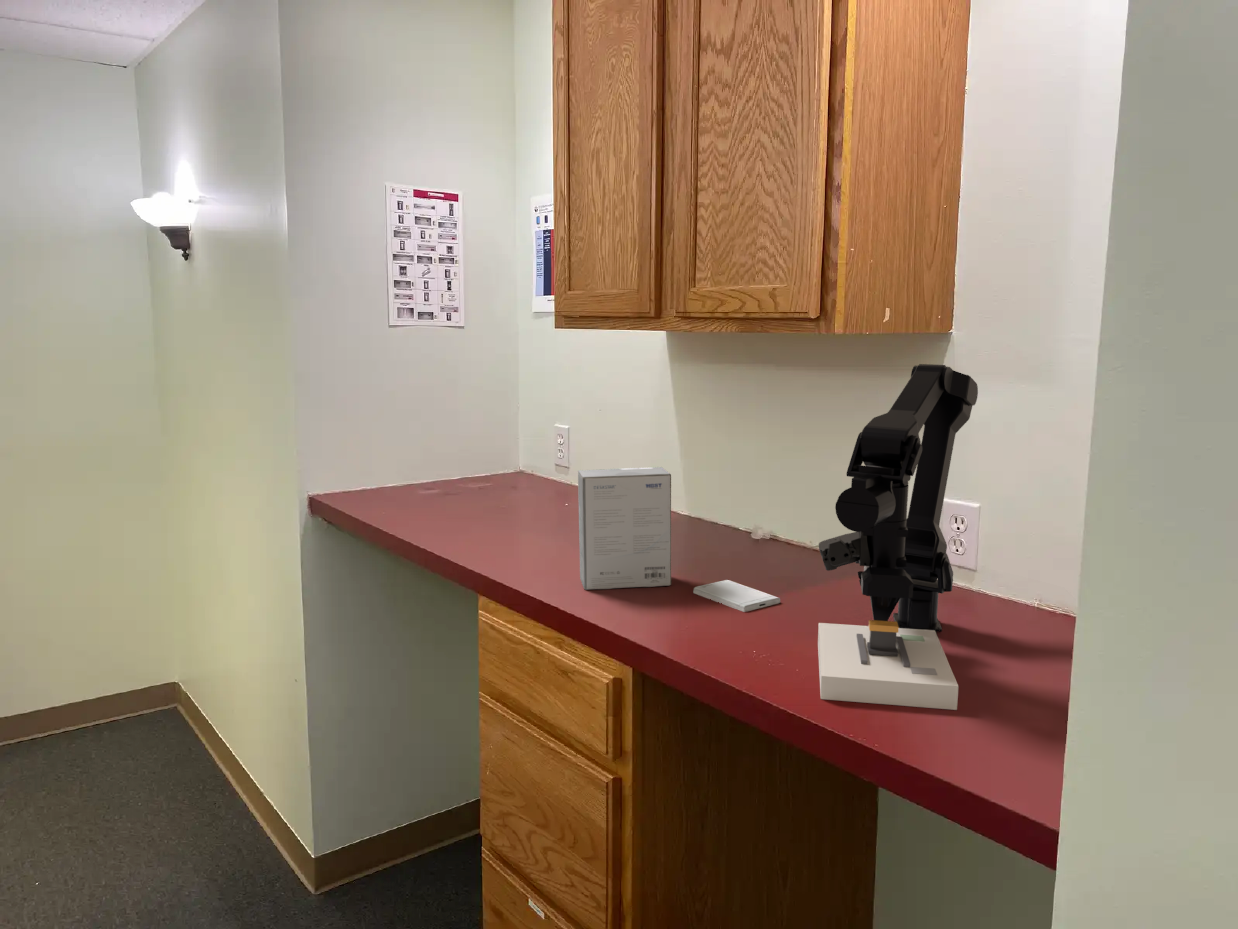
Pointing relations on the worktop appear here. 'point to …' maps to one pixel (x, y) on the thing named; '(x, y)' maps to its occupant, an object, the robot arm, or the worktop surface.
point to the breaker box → (885, 668)
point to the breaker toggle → (882, 638)
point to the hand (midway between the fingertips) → (878, 628)
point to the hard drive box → (624, 527)
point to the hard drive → (736, 595)
